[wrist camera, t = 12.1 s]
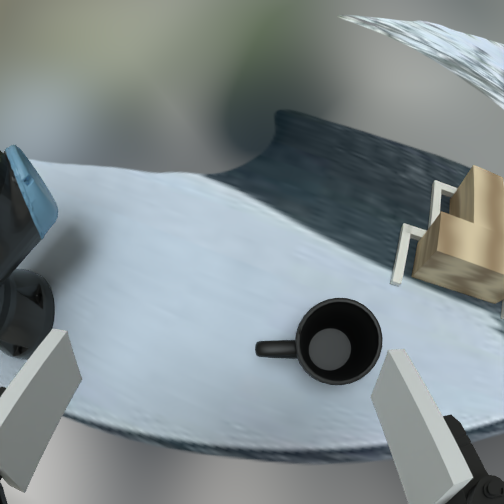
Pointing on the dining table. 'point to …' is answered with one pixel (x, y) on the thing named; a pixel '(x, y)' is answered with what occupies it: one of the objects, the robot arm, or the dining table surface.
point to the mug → (332, 342)
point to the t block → (467, 240)
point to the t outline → (421, 232)
